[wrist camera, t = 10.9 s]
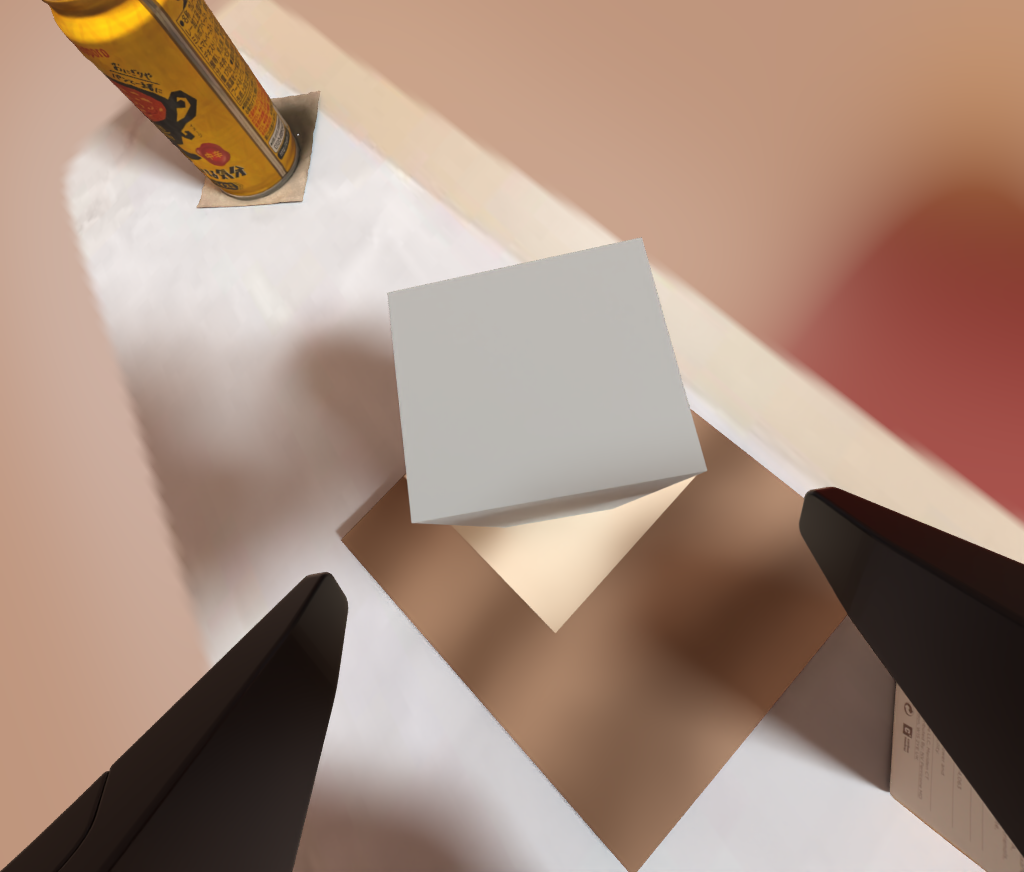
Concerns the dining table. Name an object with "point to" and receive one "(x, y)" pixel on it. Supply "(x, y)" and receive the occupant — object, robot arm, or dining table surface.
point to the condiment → (198, 94)
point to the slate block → (539, 391)
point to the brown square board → (620, 630)
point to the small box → (944, 793)
